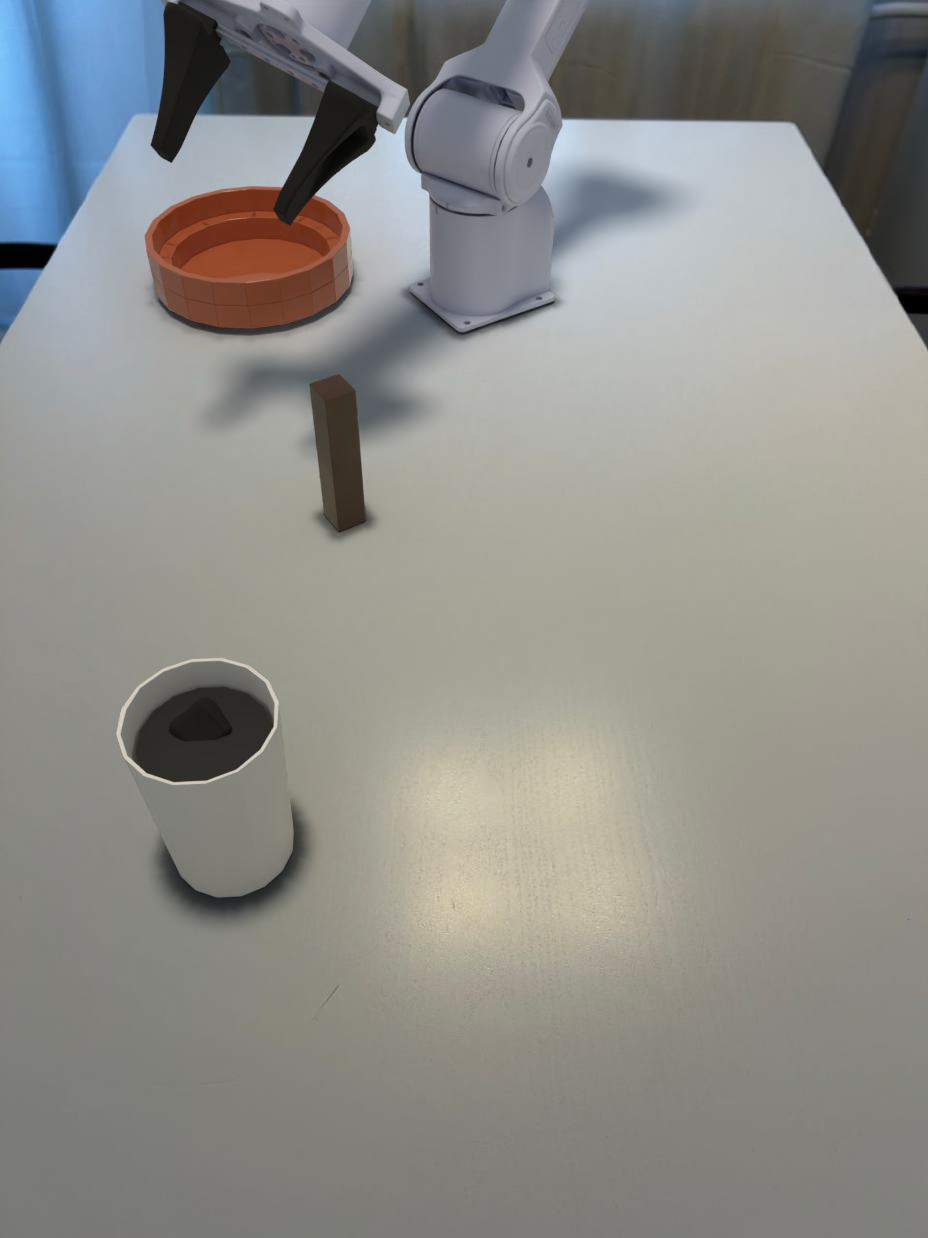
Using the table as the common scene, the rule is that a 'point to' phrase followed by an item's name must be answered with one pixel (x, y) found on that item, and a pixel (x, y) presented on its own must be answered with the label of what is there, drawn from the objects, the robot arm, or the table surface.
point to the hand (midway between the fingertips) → (221, 186)
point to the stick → (338, 451)
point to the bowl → (248, 258)
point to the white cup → (212, 772)
